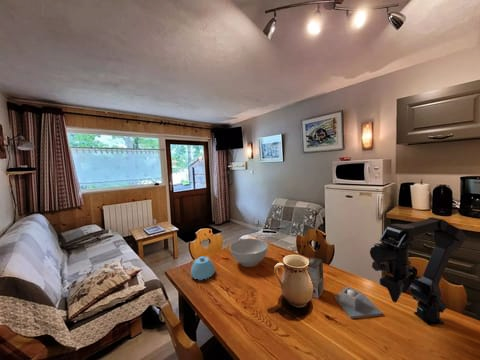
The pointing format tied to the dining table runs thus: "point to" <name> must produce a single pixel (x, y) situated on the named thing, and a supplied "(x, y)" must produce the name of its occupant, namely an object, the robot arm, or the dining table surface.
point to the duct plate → (364, 310)
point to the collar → (351, 298)
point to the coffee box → (316, 276)
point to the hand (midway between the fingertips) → (399, 297)
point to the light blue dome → (202, 268)
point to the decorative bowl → (249, 251)
